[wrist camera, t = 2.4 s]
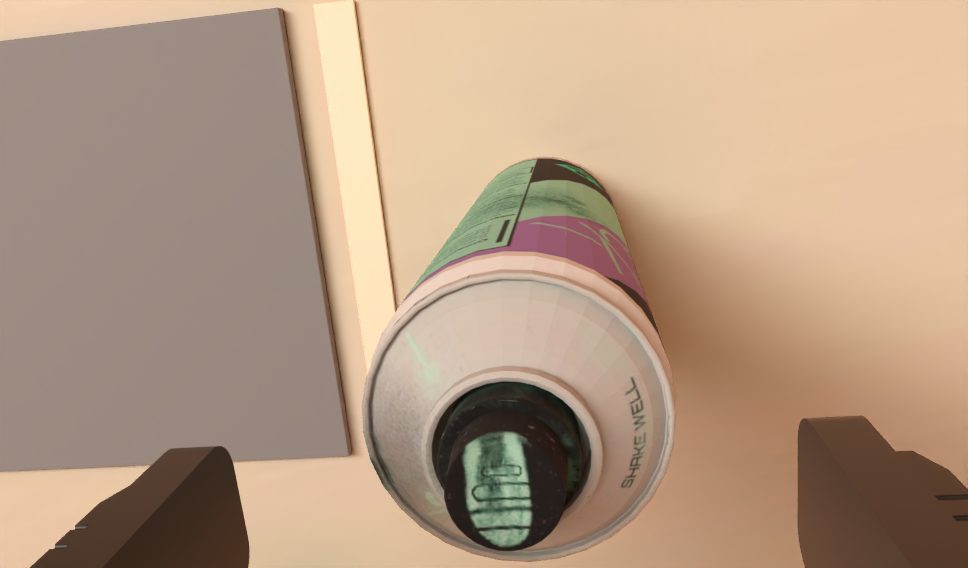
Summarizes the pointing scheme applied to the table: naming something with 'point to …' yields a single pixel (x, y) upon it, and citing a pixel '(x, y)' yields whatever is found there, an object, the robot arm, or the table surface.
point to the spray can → (524, 376)
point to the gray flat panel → (177, 243)
